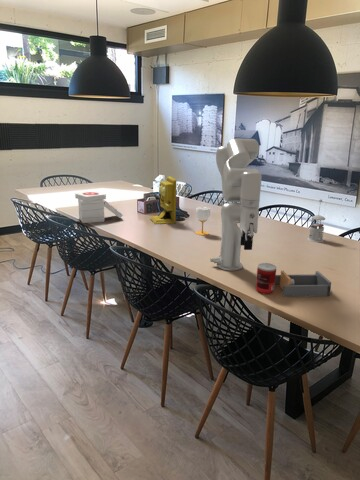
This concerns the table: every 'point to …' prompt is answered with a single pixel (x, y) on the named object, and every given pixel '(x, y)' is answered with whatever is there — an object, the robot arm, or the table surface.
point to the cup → (202, 218)
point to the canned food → (265, 278)
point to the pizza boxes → (93, 207)
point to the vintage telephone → (167, 202)
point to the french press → (316, 233)
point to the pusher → (285, 280)
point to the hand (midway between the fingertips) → (246, 246)
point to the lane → (306, 285)
